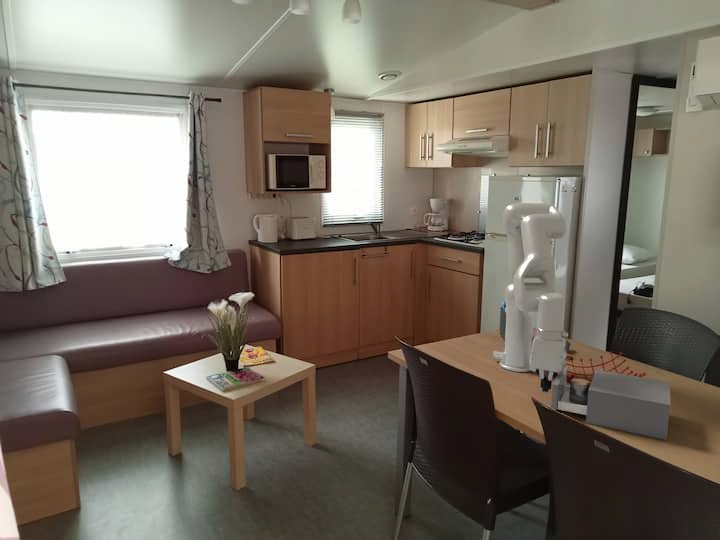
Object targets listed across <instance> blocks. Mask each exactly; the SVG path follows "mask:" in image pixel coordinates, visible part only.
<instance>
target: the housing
mask: <svg viewBox="0 0 720 540" xmlns="http://www.w3.org/2000/svg"><path fill="white" fill-rule="evenodd" d="M590 382H591V384H590V387H589V391H588V403H587V415H585V423H586V424H591V425H594V426H595V425H596V426H600V427H605V428H608V429H612V430H613V429H614V430H618V431H623V432H628V433H633V434H636V435H642V436H645V437H650V438H655V439H660V440H665V441H667V439H668V438H667V437H668V430H669V421H670V414H671V413H670V411H671V382H670V381H665V380H661V379H660V380H659V379H653V378H647V377H642V376H636V375H630V374H624V373H618V372H613V371H606V370H599V369H595V371H594V374H593V377H592V379H591V381H590Z"/></svg>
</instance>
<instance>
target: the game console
mask: <svg viewBox="0 0 720 540" xmlns="http://www.w3.org/2000/svg"><path fill="white" fill-rule="evenodd" d="M499 312H500V315H499V316H500V317H499V331H498V332H499V334H500V335H501V336H500V335H499V334H498V335H499V336H500V337H501V339H502V338H503V339H502V340H503V341H504V342H505V333H506V301H502V303H501V306H500V311H499Z"/></svg>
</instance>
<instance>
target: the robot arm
mask: <svg viewBox="0 0 720 540" xmlns="http://www.w3.org/2000/svg"><path fill="white" fill-rule="evenodd" d="M502 214H503V216H502V221H503V228H504V231H505V233H506V237H507V240H508V241H507V242H508V271H509V272H508V273H509V275H510V277H512V278H513V282H511V283H510V284H508V285H507V286H506V287H505V289H504V299H505V301H504V302H506V333H505V341H504V351H496V350H493V351H492V356H493V357H494V359H500V360H499V366H500V367H501V368H502V369H505V370H507V371H512V372H520V373H521V372H523V373H526V372H534V373H536V374H537V375H538V377H539V379H540V388H541V392H543V393H549V391H550V390H552V387H553V383H552V382H553V380H554V379H556V377H557V375H558V376H565V374H566V372H565V367H567V353H566V339H565V338H568V336H569V332H566V331H565V330H564V323H565V322H564V321H565V320H564V319H565V311H566V309H565V307H566V299H565V297H564V295H562V294H561V293H560V291H559V290H558V289H556V263H555V260H554V257H553V255H552V250H551V244H550V240H562V239H563V238H564V237H565V236H566V233H567V223H566V220H565V217H564V216H563V214H562V212H561V211H560V210H559V209H558V208H557V207H556V206H555V205H554V204H552V203H548V202H547V203H546V202H545V203H543V202H541V203H540V202H539V203H538V202H531V203H530V202H519V203H518V202H517V203H511V204H508V205H507V206H506V207H505V208H504V211H503V213H502ZM525 279H527V280H528V279H531V280H533V279H538V280H539V282H535V281H534V282H528V281H524V280H525ZM530 313H537V323H536V334H535V335H534V334H533V331H534V321H533V317H532V316H531V315H530ZM533 335H534V336H533ZM546 371H548V376H547V375H546Z"/></svg>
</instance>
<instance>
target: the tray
mask: <svg viewBox="0 0 720 540" xmlns="http://www.w3.org/2000/svg"><path fill="white" fill-rule="evenodd" d="M565 372H566V374H565V376H558V375H557V376H556V377H555V378H554V381H553V383H552V388H551V390H552V391H551V405H550V406H551V407H550V409H551V408H553V409H555V410H560V411H565V412H569V413H575V414H579V415H584V416H586V415H587V405H578V404H574V403H572V402H570V401H569V392H570V384H569V385H567V376H568V375H567V374H568V366H566V367H565Z"/></svg>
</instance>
